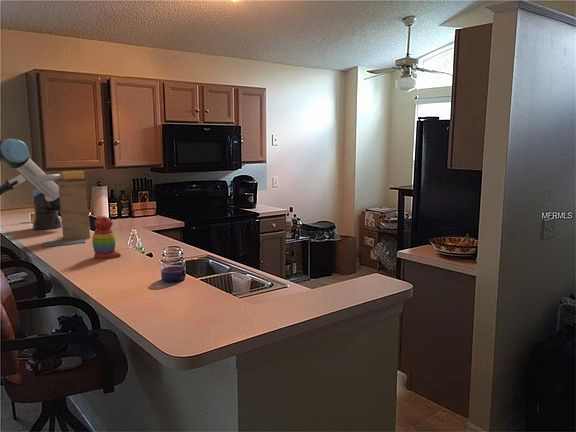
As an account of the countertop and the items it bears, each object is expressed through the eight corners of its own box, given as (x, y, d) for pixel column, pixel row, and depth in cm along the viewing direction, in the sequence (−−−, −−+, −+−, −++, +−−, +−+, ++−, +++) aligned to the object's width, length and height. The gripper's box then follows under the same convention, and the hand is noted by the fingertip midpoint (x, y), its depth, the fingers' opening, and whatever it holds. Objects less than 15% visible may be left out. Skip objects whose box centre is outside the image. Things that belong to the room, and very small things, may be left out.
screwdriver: (37, 183, 232) (36, 173, 231) (35, 183, 236) (34, 173, 235) (84, 180, 245) (83, 171, 244) (82, 179, 248) (81, 170, 248)
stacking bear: (122, 256, 206) (119, 216, 203) (98, 260, 199) (95, 219, 196) (112, 252, 214) (109, 213, 211) (89, 256, 207) (86, 216, 204)
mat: (43, 243, 235) (43, 242, 235) (82, 239, 245) (82, 238, 245) (45, 247, 227) (44, 246, 227) (85, 242, 236) (85, 241, 236)
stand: (63, 238, 248) (57, 178, 243) (87, 235, 254) (82, 177, 250) (65, 241, 241) (59, 179, 237) (90, 238, 248) (85, 178, 243)
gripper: (-14, 205, 236) (26, 182, 244) (-14, 210, 215) (29, 185, 223) (-24, 192, 233) (17, 169, 241) (-26, 196, 212) (19, 171, 220)
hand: (23, 177), depth 232 cm, fingers open, 13 cm apart
